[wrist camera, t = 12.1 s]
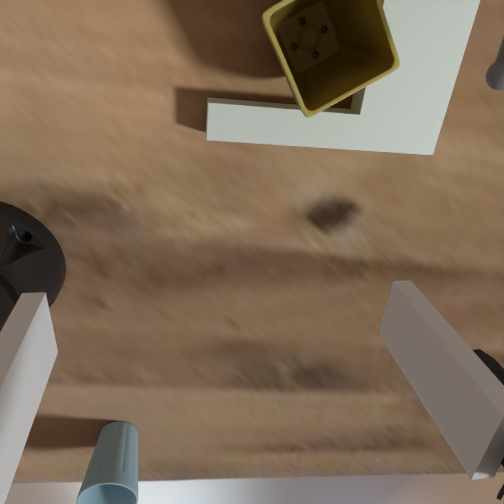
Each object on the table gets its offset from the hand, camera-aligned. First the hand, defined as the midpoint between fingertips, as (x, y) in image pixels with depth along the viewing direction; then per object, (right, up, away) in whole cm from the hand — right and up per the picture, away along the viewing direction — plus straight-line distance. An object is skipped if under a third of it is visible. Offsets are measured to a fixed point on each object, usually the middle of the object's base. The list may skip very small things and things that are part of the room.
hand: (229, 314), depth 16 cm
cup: (-19, -25, +48) cm, 57 cm away
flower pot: (+6, +23, +24) cm, 34 cm away
